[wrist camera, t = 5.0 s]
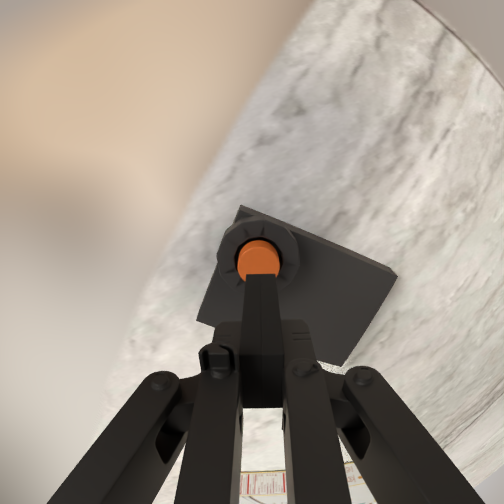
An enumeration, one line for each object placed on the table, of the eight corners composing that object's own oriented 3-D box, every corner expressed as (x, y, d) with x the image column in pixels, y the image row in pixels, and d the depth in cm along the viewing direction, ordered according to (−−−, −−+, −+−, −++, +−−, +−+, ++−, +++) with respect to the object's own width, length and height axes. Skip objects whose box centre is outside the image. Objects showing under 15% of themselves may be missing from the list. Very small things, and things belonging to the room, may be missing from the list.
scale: (195, 308, 27) (188, 329, 24) (238, 198, 24) (234, 207, 21) (337, 354, 29) (344, 378, 25) (391, 264, 25) (408, 280, 22)
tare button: (232, 268, 22) (231, 277, 21) (247, 233, 22) (246, 240, 20) (268, 282, 23) (269, 292, 21) (284, 248, 22) (286, 256, 20)
